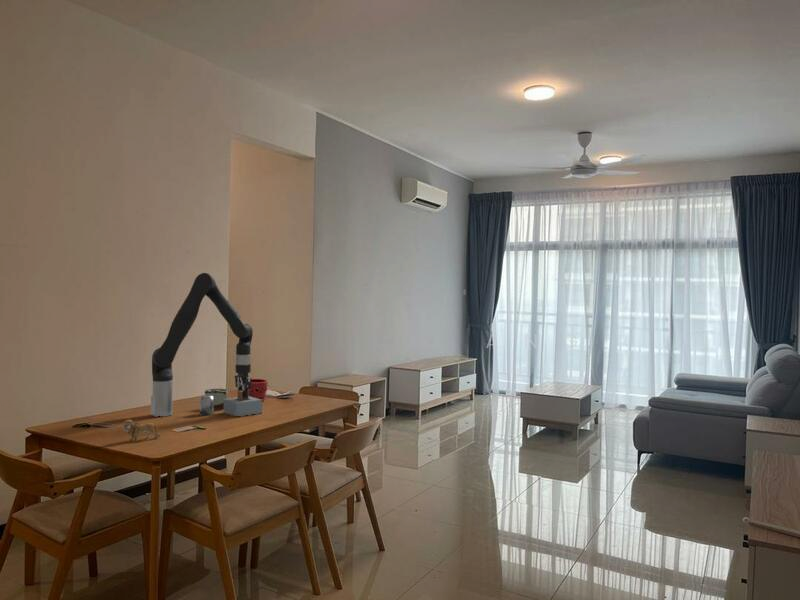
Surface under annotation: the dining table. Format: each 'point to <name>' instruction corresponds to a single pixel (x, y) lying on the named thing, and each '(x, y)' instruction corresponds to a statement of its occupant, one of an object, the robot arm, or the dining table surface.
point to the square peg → (242, 396)
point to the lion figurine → (139, 429)
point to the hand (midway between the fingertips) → (242, 396)
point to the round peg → (206, 404)
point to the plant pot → (261, 387)
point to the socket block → (242, 406)
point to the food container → (217, 397)
